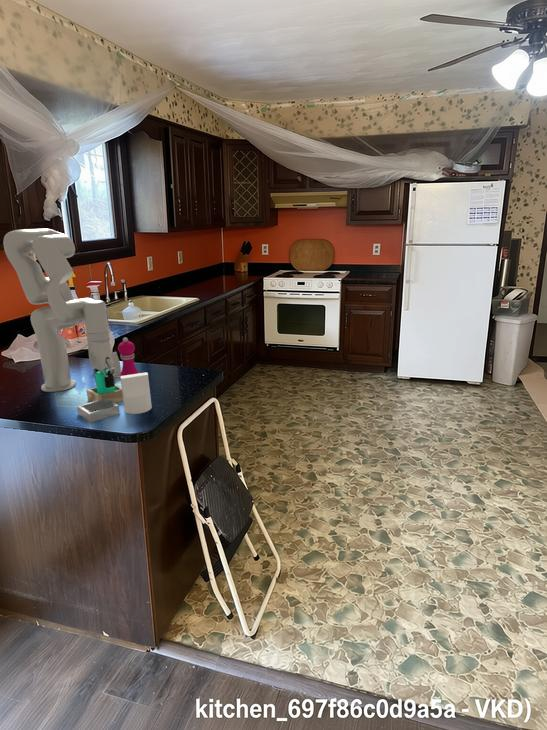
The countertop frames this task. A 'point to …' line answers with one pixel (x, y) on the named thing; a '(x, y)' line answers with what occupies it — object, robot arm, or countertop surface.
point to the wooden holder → (108, 410)
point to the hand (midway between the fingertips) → (105, 384)
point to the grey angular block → (116, 365)
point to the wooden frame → (106, 394)
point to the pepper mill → (127, 357)
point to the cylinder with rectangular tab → (136, 393)
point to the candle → (102, 383)
